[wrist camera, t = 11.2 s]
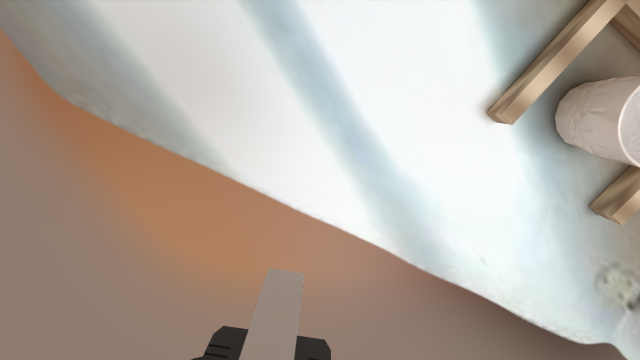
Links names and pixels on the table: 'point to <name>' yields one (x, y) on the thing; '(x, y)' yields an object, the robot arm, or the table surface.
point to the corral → (603, 6)
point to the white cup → (603, 118)
